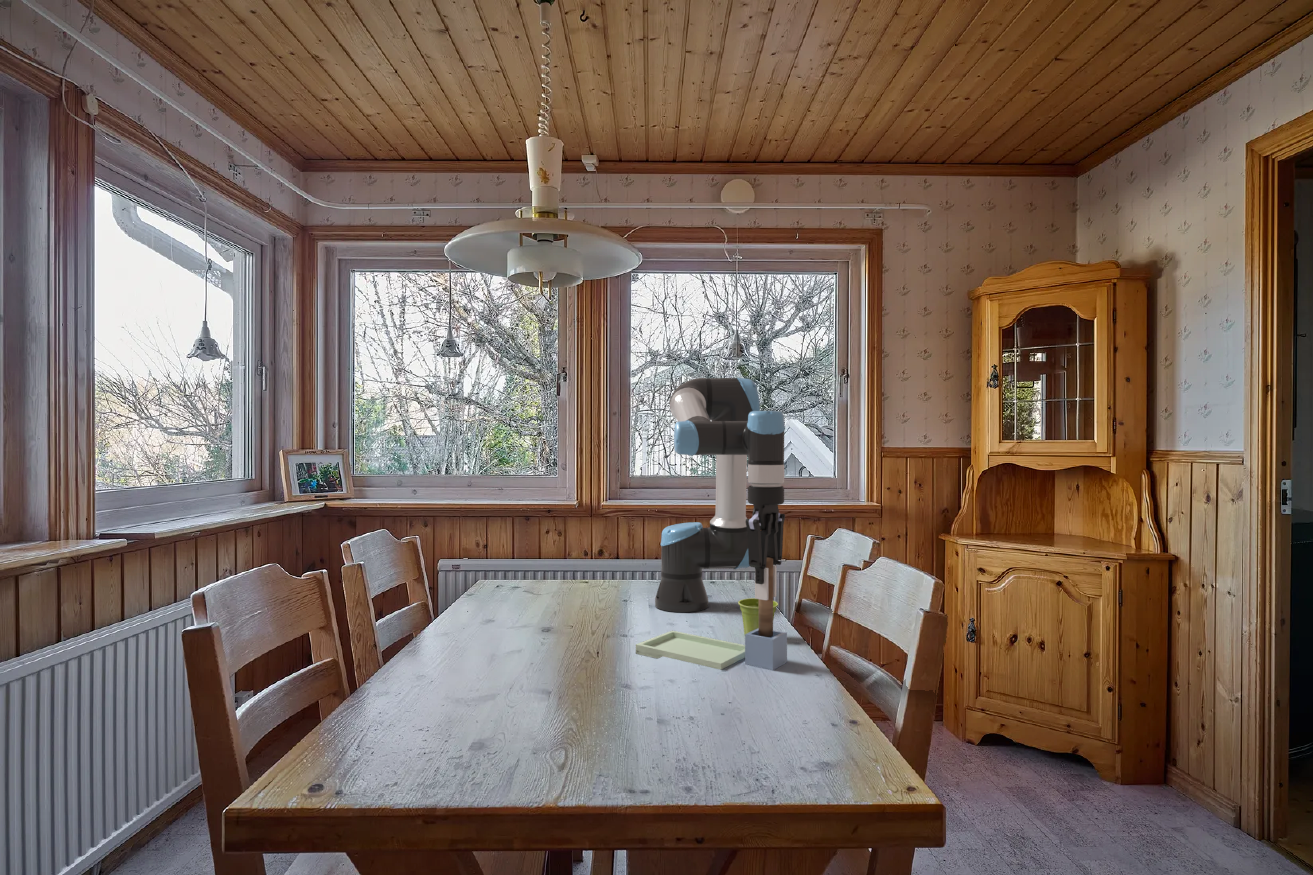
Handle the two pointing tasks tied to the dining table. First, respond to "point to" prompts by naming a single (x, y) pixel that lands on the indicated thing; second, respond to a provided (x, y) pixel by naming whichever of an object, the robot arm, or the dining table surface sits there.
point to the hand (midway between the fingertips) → (765, 597)
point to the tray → (692, 649)
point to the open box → (766, 650)
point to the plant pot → (752, 613)
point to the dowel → (767, 605)
